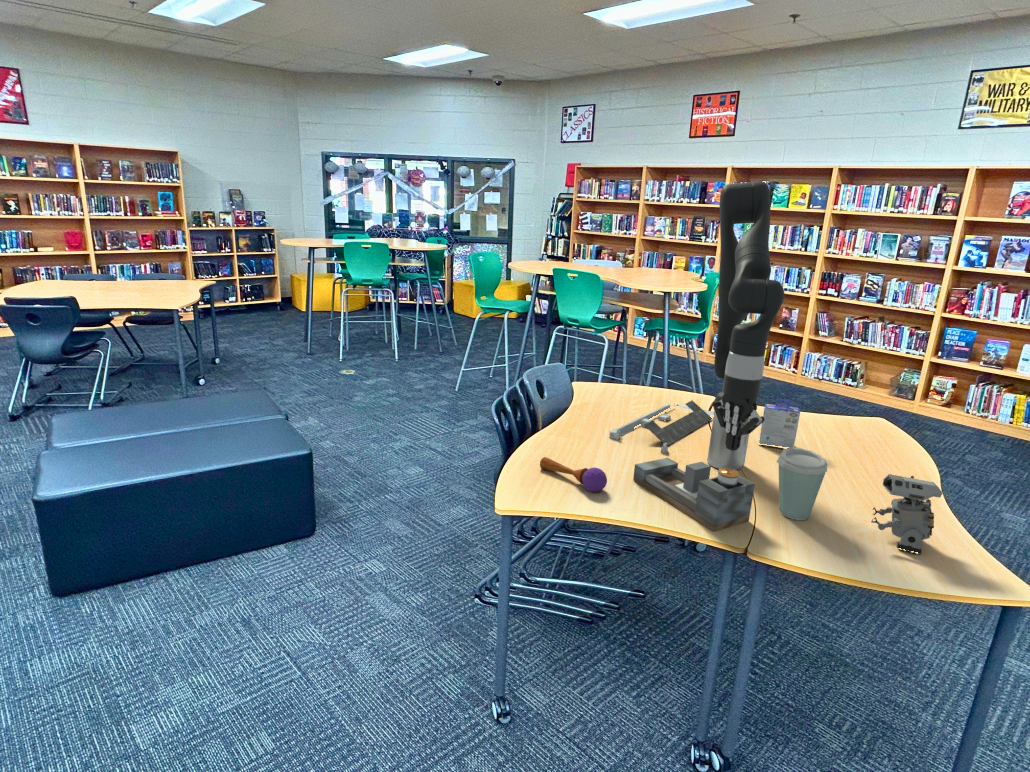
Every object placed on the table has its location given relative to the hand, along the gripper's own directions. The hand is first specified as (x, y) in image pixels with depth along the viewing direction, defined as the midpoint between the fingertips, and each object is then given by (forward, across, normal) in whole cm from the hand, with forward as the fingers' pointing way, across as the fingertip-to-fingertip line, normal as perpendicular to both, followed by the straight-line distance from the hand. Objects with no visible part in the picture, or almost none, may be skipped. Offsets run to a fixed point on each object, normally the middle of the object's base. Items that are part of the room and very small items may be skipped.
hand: (731, 449), depth 135 cm
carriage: (+16, +9, 0) cm, 18 cm away
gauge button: (+9, 0, 0) cm, 9 cm away
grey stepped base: (+18, +11, 0) cm, 21 cm away
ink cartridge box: (+17, +27, -51) cm, 60 cm away
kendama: (+18, +31, +20) cm, 41 cm away
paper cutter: (+18, +52, -31) cm, 63 cm away
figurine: (+18, -23, -29) cm, 41 cm away
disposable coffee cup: (+18, -5, -18) cm, 26 cm away
